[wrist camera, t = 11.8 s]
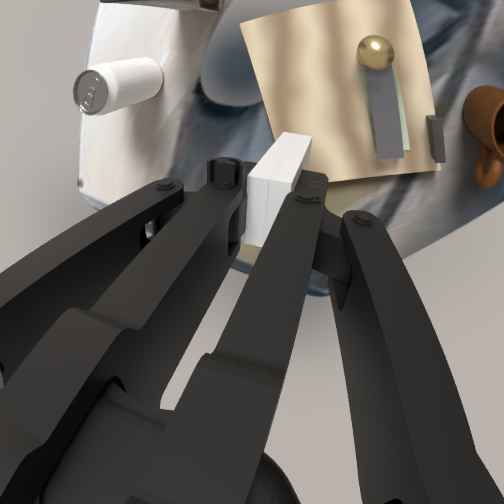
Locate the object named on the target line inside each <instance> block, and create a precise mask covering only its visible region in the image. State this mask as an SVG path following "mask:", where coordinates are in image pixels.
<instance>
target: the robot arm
mask: <svg viewBox="0 0 504 504" xmlns="http://www.w3.org/2000/svg"><path fill="white" fill-rule="evenodd" d="M311 144H312V136H307V135H301V134H295V133H288V132H283V133H282V134H281V136H280V137H279V138H278V139H277V140H276V142H275V143H274V144H273V145H272V146H271V148H270V149H269V150H268V151H267V152H266V154H265V155H264V156H263V157H262V159H261V160H260V161H259V162H258V163H254V162H247V161H245V162H243V161H241V160H239V159H236V158H231V157H219V158H213V159H210V160H208V161H207V183H206V184H205V185H204V186H203V187H202V188H201V189H200V190H199V191H198V192H184V184H183V182H182V181H179V180H176V179H172V178H164V179H162V180H157V181H154V182H152V183H150V184H148V185H146V186H144V187H142V188H140V189H138V190H137V191H135V192H133V193H131V194H129V195H127V196H125V197H123V198H122V199H120V200H118V201H116V202H114V203H112V204H111V205H109V206H107V207H105V208H103V209H102V210H100V211H98V212H96V213H95V214H93V215H91V216H89V217H88V218H86V219H84V220H82V221H81V222H79V223H77V224H76V225H74V226H73V227H71V228H69V229H68V230H66V231H64V232H62V233H61V234H59V235H58V236H56V237H54V238H53V239H51V240H50V241H48V242H46V243H45V244H43V245H42V246H40V247H39V248H37V249H36V250H34V251H33V252H31V253H29V254H28V255H26V256H25V257H24V258H22V259H21V260H19V261H18V262H16V263H15V264H13V265H12V266H10V267H9V268H7V269H6V270H5V271H3V272H2V273H0V504H301V503H300V501H299V499H298V497H297V495H296V493H295V491H294V489H293V487H292V485H291V483H290V482H289V479H288V478H287V476H286V475H285V473H284V472H283V471H282V469H281V468H280V467H279V466H278V465H277V464H276V462H275V461H274V460H273V459H272V458H270V457H269V456H268V455H267V454H266V453H265V452H264V448H265V445H266V442H267V439H268V436H269V432H270V429H271V425H272V422H273V418H274V415H275V412H276V408H277V405H278V401H279V398H280V394H281V391H282V387H283V383H284V380H285V376H286V372H287V368H288V365H289V360H290V357H291V353H292V349H293V345H294V341H295V337H296V333H297V329H298V325H299V321H300V317H301V313H302V309H303V304H304V300H305V296H306V292H307V287H308V283H309V279H310V274H311V269H314V270H316V271H319V272H321V273H323V274H325V275H327V276H328V288H329V292H330V297H331V302H332V307H333V312H334V317H335V323H336V328H337V333H338V338H339V344H340V349H341V356H342V362H343V368H344V374H345V379H346V386H347V393H348V399H349V406H350V413H351V420H352V427H353V434H354V443H355V451H356V460H357V468H358V478H359V486H360V492H361V497H362V502H363V504H504V497H503V495H502V494H501V492H500V490H499V489H498V487H497V485H496V483H495V482H494V480H493V478H492V477H491V475H490V473H489V472H488V470H487V469H486V467H485V465H484V464H483V462H482V460H481V459H480V457H479V456H478V454H477V452H476V449H475V445H474V441H473V438H472V434H471V431H470V427H469V424H468V421H467V417H466V414H465V411H464V408H463V405H462V402H461V399H460V396H459V393H458V390H457V387H456V384H455V381H454V379H453V376H452V373H451V370H450V368H449V365H448V362H447V360H446V357H445V355H444V352H443V349H442V347H441V345H440V342H439V340H438V337H437V335H436V332H435V330H434V328H433V325H432V323H431V321H430V318H429V316H428V314H427V312H426V309H425V307H424V305H423V303H422V301H421V298H420V296H419V294H418V292H417V290H416V288H415V285H414V283H413V281H412V279H411V277H410V275H409V273H408V271H407V269H406V267H405V265H404V263H403V261H402V259H401V257H400V255H399V253H398V251H397V249H396V247H395V246H394V244H393V242H392V240H391V238H390V236H389V234H388V233H387V231H386V229H385V227H384V225H383V223H382V222H381V221H380V220H379V218H377V217H376V216H374V215H373V214H371V213H369V212H368V213H367V212H366V211H359V210H351V211H347V212H345V213H344V214H343V218H341V217H339V216H336V215H334V214H333V213H331V212H329V211H328V210H327V209H326V207H325V198H326V193H327V187H328V181H329V178H328V177H327V176H326V174H324V173H319V172H314V171H308V167H309V159H310V152H311ZM150 221H151V226H152V234H153V235H152V236H151V237H148V238H147V236H146V231H145V224H147V223H149V222H150ZM243 233H244V243H245V244H250V245H255V246H260V247H262V249H261V251H260V253H259V255H258V257H257V260H256V262H255V264H254V266H253V268H252V270H251V273H250V275H249V277H248V279H247V281H246V283H245V286H244V288H243V290H242V292H241V294H240V296H239V299H238V301H237V303H236V305H235V307H234V309H233V312H232V314H231V316H230V318H229V320H228V322H227V325H226V327H225V329H224V331H223V333H222V335H221V337H220V339H219V341H218V344H217V346H216V348H215V350H214V351H213V352H212V353H211V354H209V353H205V354H204V355H203V356H202V357H201V358H200V360H199V362H198V363H197V365H196V367H195V369H194V371H193V373H192V375H191V377H190V379H189V381H188V383H187V385H186V387H185V389H184V391H183V393H182V395H181V397H180V399H179V401H178V403H177V405H176V407H175V409H174V411H172V410H165V409H160V401H161V398H162V395H163V392H164V390H165V389H166V387H167V385H168V383H169V381H170V379H171V377H172V376H173V374H174V372H175V370H176V368H177V366H178V364H179V362H180V360H181V359H182V357H183V355H184V353H185V351H186V349H187V347H188V345H189V343H190V342H191V340H192V338H193V336H194V334H195V332H196V330H197V328H198V327H199V324H200V323H201V321H202V319H203V317H204V315H205V313H206V312H207V309H208V308H209V306H210V304H211V302H212V300H213V299H214V297H215V295H216V293H217V291H218V289H219V287H220V286H221V284H222V282H223V280H224V278H225V276H226V274H227V273H228V270H229V269H230V267H231V265H232V263H233V262H234V260H235V258H236V256H237V254H238V252H239V250H240V243H241V236H242V235H243Z"/></svg>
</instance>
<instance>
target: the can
mask: <svg viewBox="0 0 504 504" xmlns="http://www.w3.org/2000/svg"><path fill="white" fill-rule="evenodd" d="M162 80H163V76H162V71H161V68H160V66H159V65H158V63H157V62H155V61H154V60H152V59H150V58H135V59H127V60H120V61H114V62H108V63H103V64H98V65H94V66H92V67H90V68H89V69H87V70H85V71H83V72H82V73H81V74H80V75H79V76H78V77H77V79H76V80H75V83H74V87H73V97H74V101H75V104H76V106H77V108H78V109H79V110H80V111H81V112H82V113H84V114H86V115H104V114H107V113H110V112H113V111H116V110H118V109H121V108H124V107H127V106H130V105H132V104H135V103H138V102H141V101H144V100H147V99H150V98H152V97H153V96H155V95H156V94H157V93H158V91H159V90H160V88H161V85H162Z"/></svg>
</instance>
